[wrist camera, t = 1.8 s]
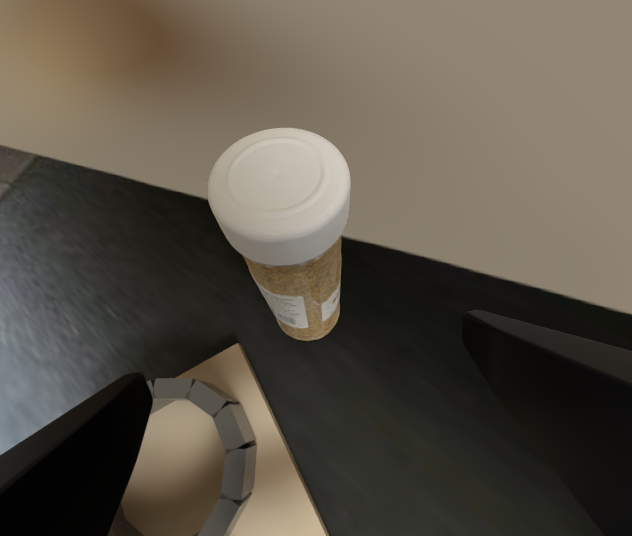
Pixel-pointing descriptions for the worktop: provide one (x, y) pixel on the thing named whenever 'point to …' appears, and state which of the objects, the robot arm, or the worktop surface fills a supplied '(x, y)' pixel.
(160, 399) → the socket ring
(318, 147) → the sprinkles bottle
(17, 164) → the worktop surface
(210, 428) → the carrier plate
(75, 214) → the worktop surface
